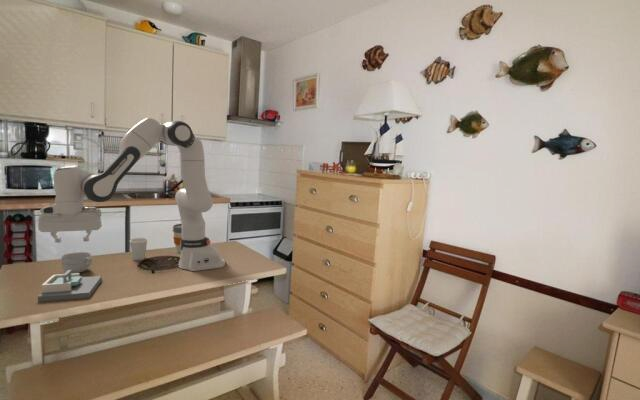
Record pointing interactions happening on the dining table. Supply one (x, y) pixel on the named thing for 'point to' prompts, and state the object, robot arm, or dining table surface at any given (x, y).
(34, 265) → the dining table surface
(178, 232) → the reusable coffee cup
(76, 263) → the teacup
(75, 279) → the trolley
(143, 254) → the dixie cup
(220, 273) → the dining table surface
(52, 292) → the dock
